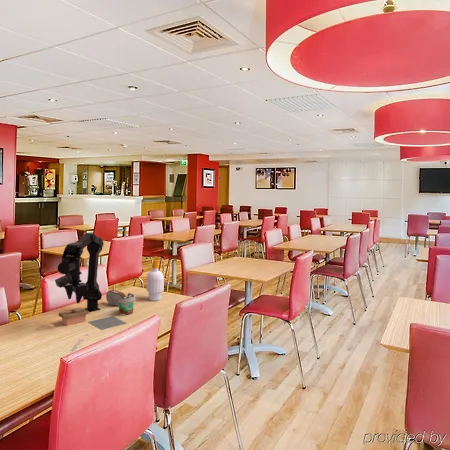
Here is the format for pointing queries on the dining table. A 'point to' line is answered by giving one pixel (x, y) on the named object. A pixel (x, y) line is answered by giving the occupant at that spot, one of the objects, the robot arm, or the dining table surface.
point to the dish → (74, 320)
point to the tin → (114, 297)
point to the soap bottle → (155, 282)
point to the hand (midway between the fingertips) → (73, 301)
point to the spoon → (77, 344)
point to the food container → (126, 304)
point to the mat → (107, 322)
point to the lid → (73, 313)
